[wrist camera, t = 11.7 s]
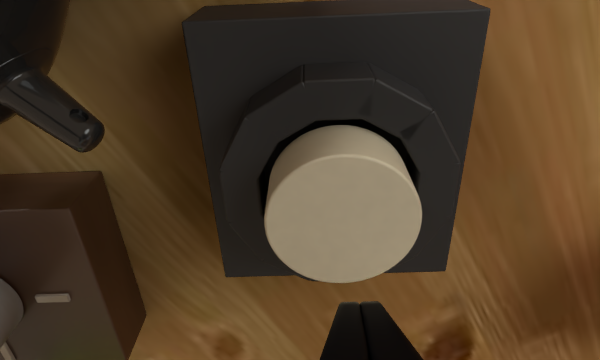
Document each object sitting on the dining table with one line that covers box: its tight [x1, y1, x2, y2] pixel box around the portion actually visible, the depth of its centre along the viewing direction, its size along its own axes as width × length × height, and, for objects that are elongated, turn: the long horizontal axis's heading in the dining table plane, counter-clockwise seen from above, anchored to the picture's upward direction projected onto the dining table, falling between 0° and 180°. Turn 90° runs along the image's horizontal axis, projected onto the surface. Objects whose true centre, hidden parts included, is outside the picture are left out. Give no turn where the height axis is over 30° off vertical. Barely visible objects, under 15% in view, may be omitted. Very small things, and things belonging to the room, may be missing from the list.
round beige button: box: [264, 125, 422, 283], centre depth 13 cm, size 4×4×2 cm
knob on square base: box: [182, 0, 490, 281], centre depth 15 cm, size 9×10×5 cm
